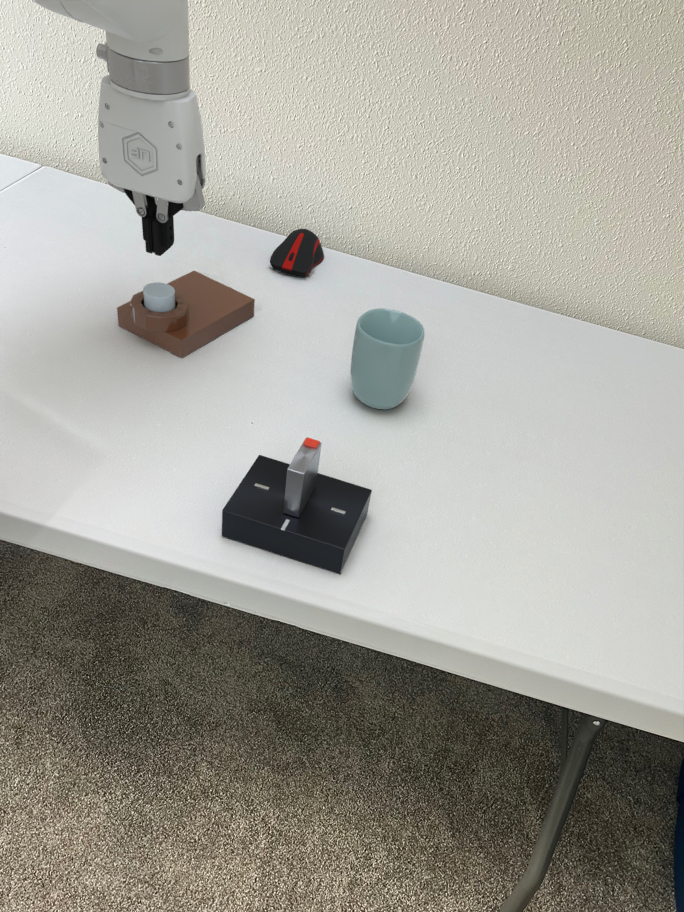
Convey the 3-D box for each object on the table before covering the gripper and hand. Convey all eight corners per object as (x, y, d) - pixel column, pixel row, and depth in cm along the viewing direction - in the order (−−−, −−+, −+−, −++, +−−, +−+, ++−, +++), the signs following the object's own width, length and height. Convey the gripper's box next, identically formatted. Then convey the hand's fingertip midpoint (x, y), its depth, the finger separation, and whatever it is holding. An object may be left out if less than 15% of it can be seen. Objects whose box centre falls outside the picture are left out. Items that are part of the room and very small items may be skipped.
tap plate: (221, 537, 75) (221, 509, 72) (258, 479, 81) (259, 452, 79) (339, 575, 74) (344, 548, 71) (367, 514, 81) (372, 487, 78)
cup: (419, 395, 97) (435, 324, 90) (392, 426, 92) (408, 353, 85) (364, 372, 99) (376, 300, 92) (334, 401, 93) (345, 327, 86)
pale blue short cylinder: (161, 316, 92) (160, 301, 90) (137, 305, 93) (136, 289, 91) (181, 306, 94) (181, 290, 93) (158, 294, 95) (157, 279, 94)
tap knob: (298, 518, 73) (304, 472, 69) (282, 513, 73) (287, 466, 69) (316, 485, 77) (322, 440, 73) (300, 481, 77) (306, 435, 73)
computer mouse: (264, 271, 112) (266, 244, 109) (289, 241, 120) (291, 216, 117) (306, 283, 112) (309, 256, 109) (328, 252, 120) (331, 227, 117)
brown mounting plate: (174, 362, 93) (173, 329, 90) (110, 329, 95) (107, 295, 92) (254, 316, 103) (255, 284, 100) (194, 287, 106) (193, 255, 103)
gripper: (56, 59, 74) (80, 244, 87) (204, 101, 73) (206, 282, 86) (98, 42, 79) (115, 219, 92) (237, 81, 78) (234, 254, 91)
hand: (159, 249), depth 89 cm, fingers closed
